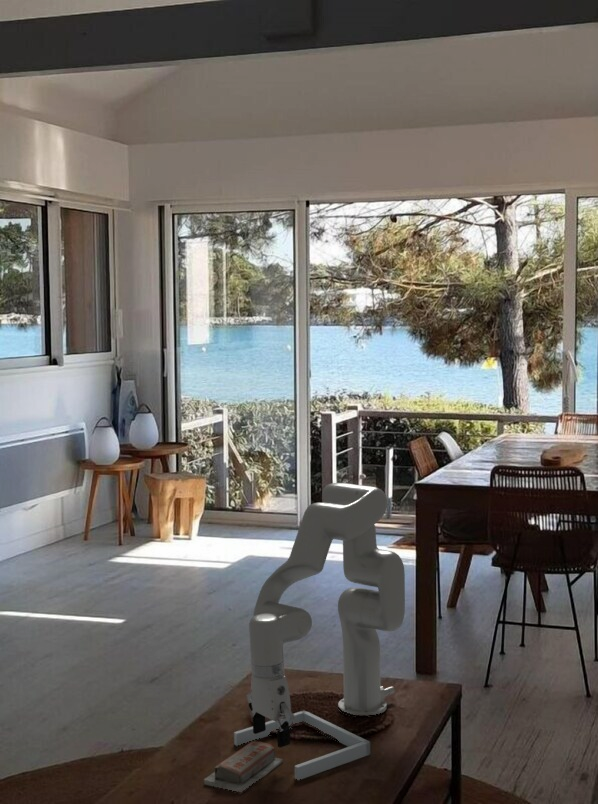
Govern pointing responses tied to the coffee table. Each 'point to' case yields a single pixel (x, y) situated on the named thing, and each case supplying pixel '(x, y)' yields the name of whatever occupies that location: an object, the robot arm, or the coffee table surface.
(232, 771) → the packaged product
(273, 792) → the coffee table surface
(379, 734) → the coffee table surface
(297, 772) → the open frame
